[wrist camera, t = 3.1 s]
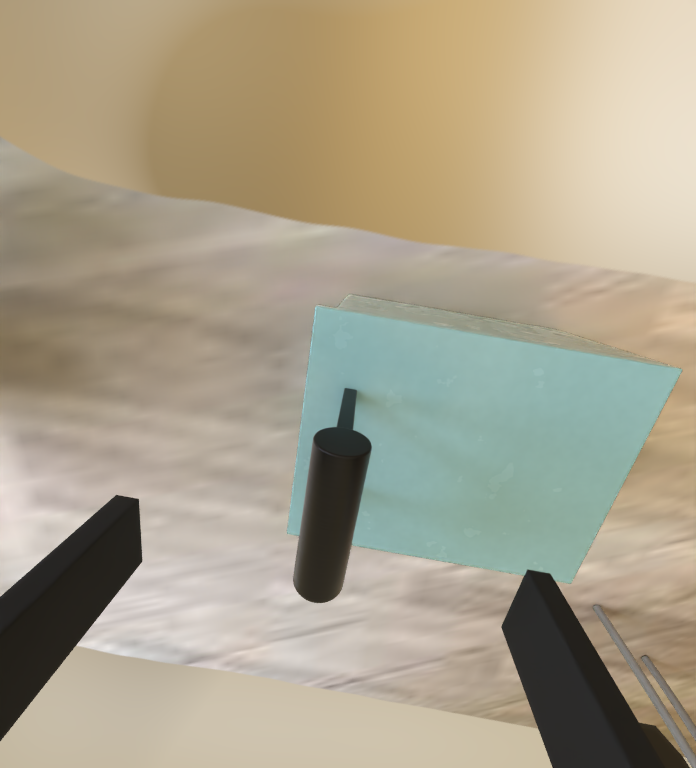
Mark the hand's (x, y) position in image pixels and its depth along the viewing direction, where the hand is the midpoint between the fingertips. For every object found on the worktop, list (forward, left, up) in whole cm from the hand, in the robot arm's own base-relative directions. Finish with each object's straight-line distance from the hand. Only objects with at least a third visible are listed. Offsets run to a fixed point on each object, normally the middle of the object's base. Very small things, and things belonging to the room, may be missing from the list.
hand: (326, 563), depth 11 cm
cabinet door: (+7, +1, -9) cm, 11 cm away
